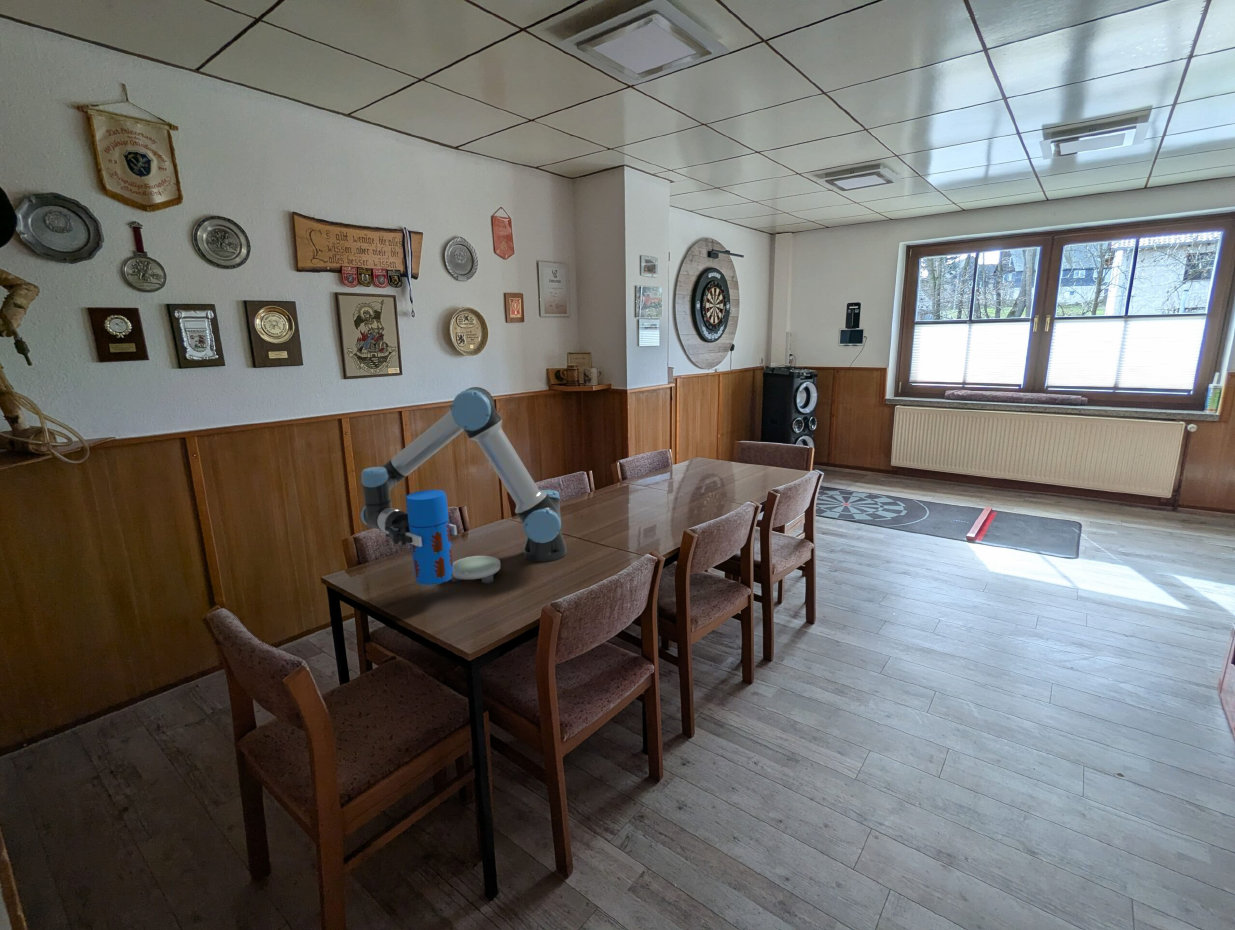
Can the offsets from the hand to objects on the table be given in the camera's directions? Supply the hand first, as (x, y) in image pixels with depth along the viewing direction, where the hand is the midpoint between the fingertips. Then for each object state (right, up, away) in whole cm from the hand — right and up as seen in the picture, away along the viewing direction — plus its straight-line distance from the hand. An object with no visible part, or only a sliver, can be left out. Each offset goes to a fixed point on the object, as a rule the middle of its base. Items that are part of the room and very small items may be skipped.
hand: (438, 535), depth 161 cm
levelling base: (+5, -16, +24) cm, 29 cm away
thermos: (-3, -13, +6) cm, 14 cm away
